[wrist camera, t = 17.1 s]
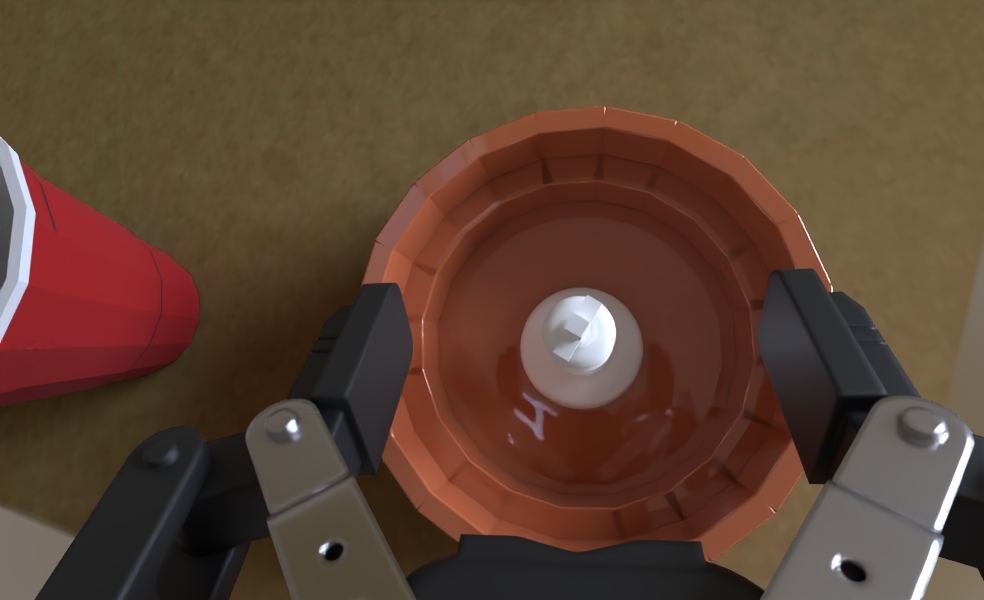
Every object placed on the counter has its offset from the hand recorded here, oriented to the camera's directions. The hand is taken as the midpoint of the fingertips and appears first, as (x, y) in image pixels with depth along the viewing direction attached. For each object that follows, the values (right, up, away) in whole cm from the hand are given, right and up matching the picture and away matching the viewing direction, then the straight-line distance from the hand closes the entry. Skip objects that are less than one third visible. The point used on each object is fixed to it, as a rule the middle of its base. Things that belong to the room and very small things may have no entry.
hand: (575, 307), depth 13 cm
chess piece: (+2, -2, +11) cm, 11 cm away
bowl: (+2, -2, +12) cm, 12 cm away
